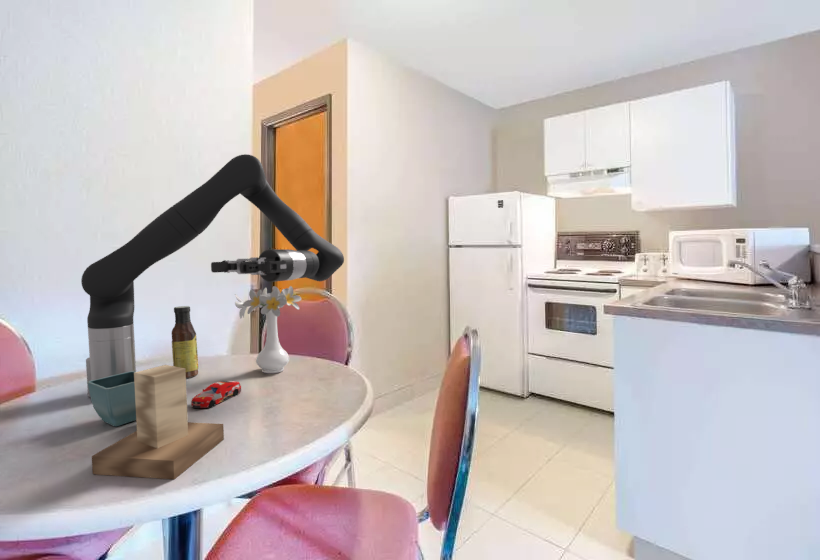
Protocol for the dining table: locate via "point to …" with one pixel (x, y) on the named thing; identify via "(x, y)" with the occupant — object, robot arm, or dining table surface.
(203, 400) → the race car
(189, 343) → the sauce bottle
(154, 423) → the oak pillar
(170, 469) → the walnut slab
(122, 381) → the flower pot
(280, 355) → the flower vase
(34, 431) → the dining table surface
